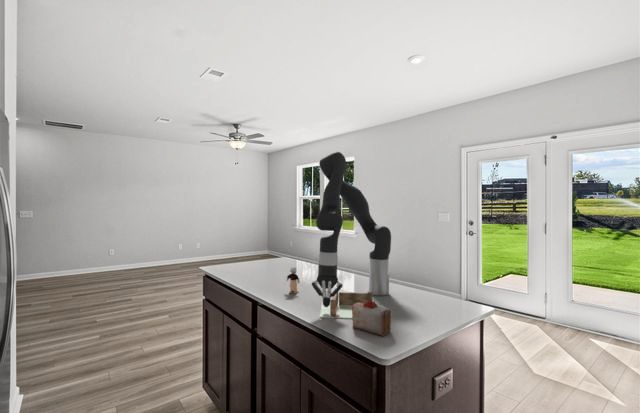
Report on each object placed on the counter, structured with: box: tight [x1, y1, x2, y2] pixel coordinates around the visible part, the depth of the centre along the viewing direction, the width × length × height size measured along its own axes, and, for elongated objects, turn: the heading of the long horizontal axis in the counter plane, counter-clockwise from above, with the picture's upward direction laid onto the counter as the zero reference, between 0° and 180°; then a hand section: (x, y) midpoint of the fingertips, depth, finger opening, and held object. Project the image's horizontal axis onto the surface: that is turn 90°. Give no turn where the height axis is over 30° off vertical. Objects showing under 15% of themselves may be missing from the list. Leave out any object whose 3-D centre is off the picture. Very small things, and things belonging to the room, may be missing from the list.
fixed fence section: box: [338, 290, 374, 306], centre depth 136 cm, size 14×2×6 cm, turn 87°
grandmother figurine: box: [286, 266, 301, 294], centre depth 156 cm, size 8×4×13 cm, turn 71°
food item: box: [352, 299, 392, 337], centre depth 111 cm, size 14×8×10 cm, turn 50°
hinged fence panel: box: [330, 291, 339, 316], centre depth 130 cm, size 16×2×6 cm, turn 173°
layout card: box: [319, 299, 353, 320], centre depth 132 cm, size 23×21×1 cm
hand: (326, 306), depth 127 cm, fingers closed
